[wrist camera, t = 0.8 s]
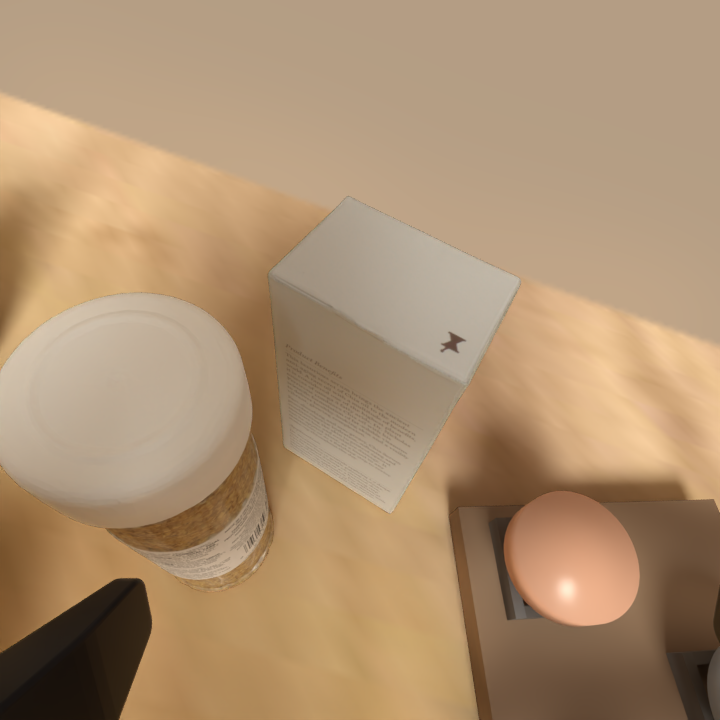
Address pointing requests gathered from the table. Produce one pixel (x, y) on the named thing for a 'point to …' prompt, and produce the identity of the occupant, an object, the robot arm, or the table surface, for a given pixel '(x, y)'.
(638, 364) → the table surface
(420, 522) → the table surface
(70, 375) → the sprinkles bottle
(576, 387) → the table surface
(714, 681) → the slate-blue button
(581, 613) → the terracotta button
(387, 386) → the skincare box
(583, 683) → the board
